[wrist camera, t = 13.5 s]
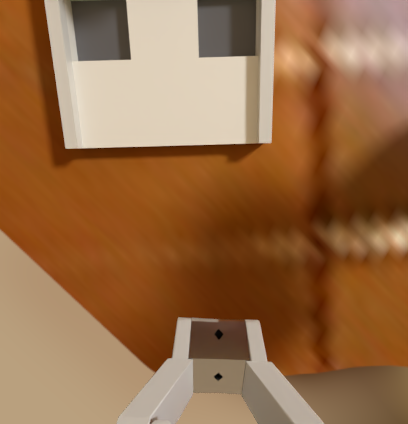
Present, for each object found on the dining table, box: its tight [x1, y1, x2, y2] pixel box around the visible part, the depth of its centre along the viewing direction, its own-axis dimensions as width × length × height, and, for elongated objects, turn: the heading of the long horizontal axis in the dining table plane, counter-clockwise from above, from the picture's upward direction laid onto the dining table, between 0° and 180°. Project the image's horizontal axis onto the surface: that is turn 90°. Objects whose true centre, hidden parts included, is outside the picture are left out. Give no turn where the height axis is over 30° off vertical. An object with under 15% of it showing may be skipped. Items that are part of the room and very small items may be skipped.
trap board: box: [44, 0, 276, 149], centre depth 31 cm, size 25×28×4 cm
